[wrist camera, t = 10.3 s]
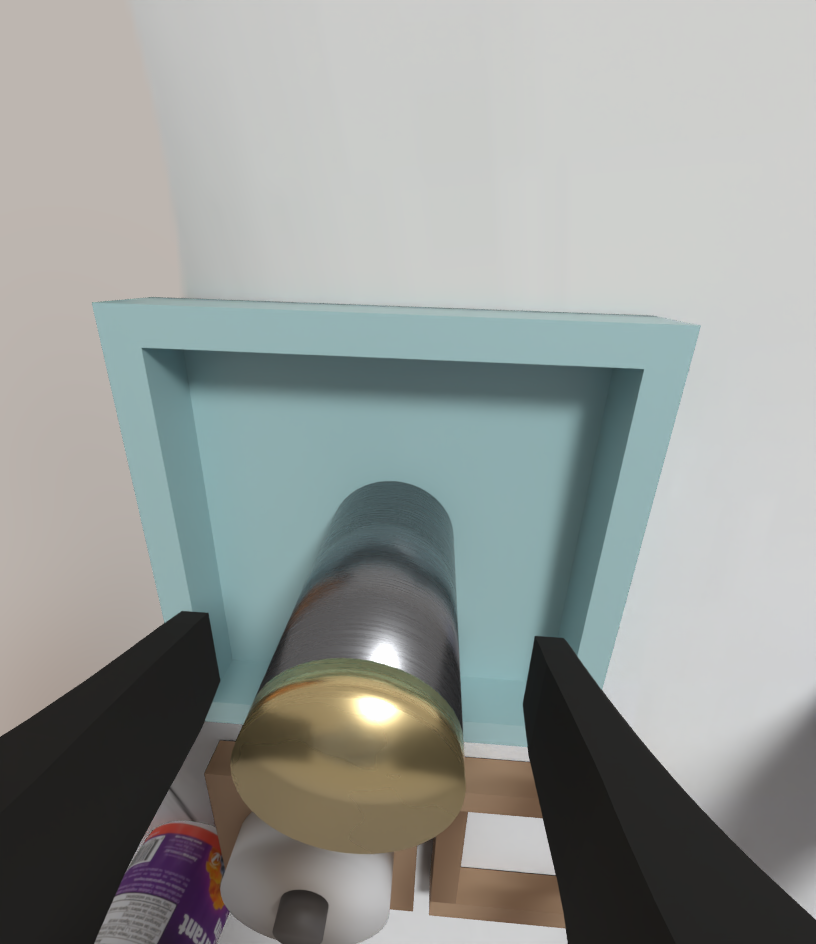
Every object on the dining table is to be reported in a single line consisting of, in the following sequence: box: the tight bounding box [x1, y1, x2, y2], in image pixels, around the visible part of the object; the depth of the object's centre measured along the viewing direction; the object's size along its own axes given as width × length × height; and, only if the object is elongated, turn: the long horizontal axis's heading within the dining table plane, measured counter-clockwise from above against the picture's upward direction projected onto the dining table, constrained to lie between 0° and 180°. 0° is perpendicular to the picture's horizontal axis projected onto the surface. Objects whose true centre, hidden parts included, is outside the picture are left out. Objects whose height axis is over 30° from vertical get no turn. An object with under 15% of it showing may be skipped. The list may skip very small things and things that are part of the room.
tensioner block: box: [204, 740, 566, 944], centre depth 20 cm, size 19×9×4 cm, turn 88°
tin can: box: [230, 481, 466, 854], centre depth 12 cm, size 4×4×8 cm
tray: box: [92, 297, 701, 747], centre depth 15 cm, size 14×14×2 cm
